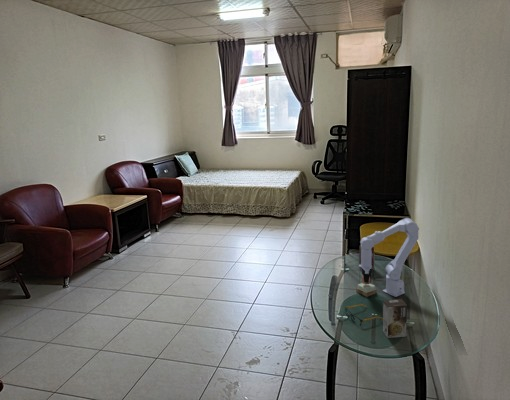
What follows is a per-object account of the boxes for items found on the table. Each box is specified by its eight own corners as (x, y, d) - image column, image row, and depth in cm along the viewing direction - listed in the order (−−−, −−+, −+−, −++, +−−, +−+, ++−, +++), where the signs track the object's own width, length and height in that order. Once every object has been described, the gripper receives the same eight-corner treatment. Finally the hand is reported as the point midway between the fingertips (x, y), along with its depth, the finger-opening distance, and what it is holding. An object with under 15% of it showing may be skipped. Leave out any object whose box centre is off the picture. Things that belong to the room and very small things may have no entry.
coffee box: (400, 329, 182) (401, 298, 179) (406, 336, 176) (407, 305, 173) (382, 330, 182) (382, 299, 179) (387, 338, 176) (388, 306, 172)
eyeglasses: (343, 314, 200) (343, 307, 199) (366, 308, 204) (366, 301, 204) (360, 327, 186) (360, 320, 186) (384, 320, 191) (384, 313, 190)
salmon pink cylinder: (371, 282, 219) (371, 276, 218) (366, 285, 217) (366, 278, 216) (365, 280, 223) (365, 274, 222) (360, 282, 221) (360, 276, 220)
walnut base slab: (376, 293, 220) (376, 289, 219) (366, 297, 216) (366, 293, 215) (365, 288, 227) (365, 284, 226) (356, 292, 223) (356, 288, 222)
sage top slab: (375, 289, 219) (375, 285, 219) (366, 293, 216) (366, 289, 215) (366, 285, 225) (366, 281, 225) (357, 288, 222) (357, 284, 221)
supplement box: (360, 270, 251) (360, 247, 248) (359, 267, 256) (359, 245, 253) (373, 269, 251) (374, 247, 248) (371, 266, 256) (372, 244, 252)
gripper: (358, 253, 224) (358, 274, 227) (359, 262, 211) (359, 285, 214) (370, 253, 223) (370, 275, 226) (372, 263, 209) (372, 286, 212)
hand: (366, 280), depth 220 cm, fingers closed on salmon pink cylinder, 4 cm apart
